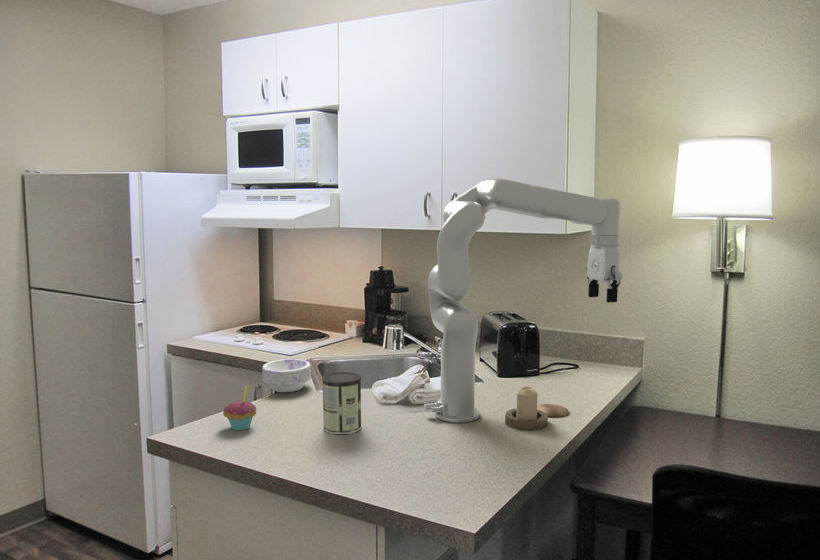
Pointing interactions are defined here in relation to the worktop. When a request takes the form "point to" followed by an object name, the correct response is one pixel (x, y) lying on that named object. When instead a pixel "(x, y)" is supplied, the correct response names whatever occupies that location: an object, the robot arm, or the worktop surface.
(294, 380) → the paper bowls
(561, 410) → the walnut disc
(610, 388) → the worktop surface
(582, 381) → the worktop surface
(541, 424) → the ring
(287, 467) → the worktop surface
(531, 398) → the candle
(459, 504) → the worktop surface
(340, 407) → the coffee can
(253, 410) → the cupcake
